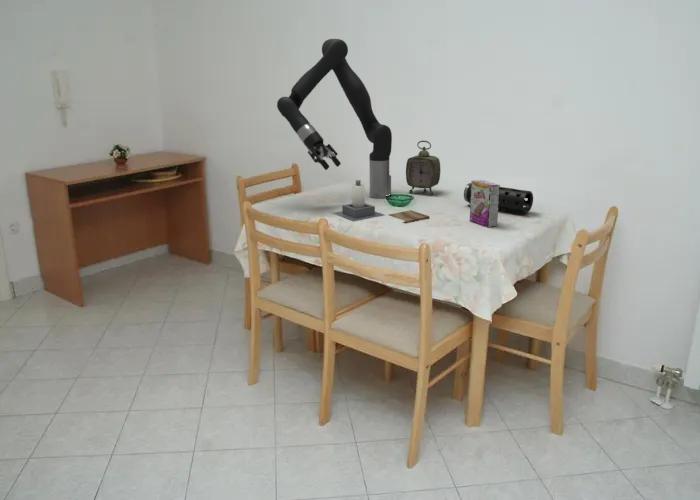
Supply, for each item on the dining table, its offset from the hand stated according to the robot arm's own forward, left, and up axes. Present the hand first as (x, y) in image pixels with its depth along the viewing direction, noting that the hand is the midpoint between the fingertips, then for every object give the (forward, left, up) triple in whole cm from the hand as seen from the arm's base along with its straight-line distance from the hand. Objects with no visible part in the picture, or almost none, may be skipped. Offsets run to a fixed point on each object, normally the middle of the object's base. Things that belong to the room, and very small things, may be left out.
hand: (333, 166), depth 243 cm
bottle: (-5, +11, -19) cm, 22 cm away
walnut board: (-20, +25, -20) cm, 37 cm away
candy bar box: (-38, +49, -20) cm, 65 cm away
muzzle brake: (-58, +37, -20) cm, 71 cm away
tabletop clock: (-53, -5, -20) cm, 57 cm away
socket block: (-5, +11, -20) cm, 23 cm away
